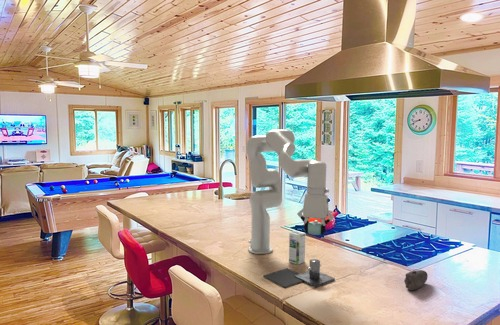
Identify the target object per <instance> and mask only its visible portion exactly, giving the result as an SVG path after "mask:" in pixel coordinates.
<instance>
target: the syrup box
mask: <svg viewBox="0 0 500 325" xmlns="http://www.w3.org/2000/svg"><path fill="white" fill-rule="evenodd" d="M288 235H289V236H288V237H289V238H288V239H289V240H288V262H289V263H290V264H291V263H292V264H293V265H294V264H295V265H298V266H299V265H300V264H303V263H305V262H306V233H305V232H302V231H298V230H292V231H291V232H289V234H288Z"/></svg>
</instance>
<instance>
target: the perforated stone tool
mask: <svg viewBox="0 0 500 325" xmlns="http://www.w3.org/2000/svg"><path fill="white" fill-rule="evenodd" d="M427 280H428V272H427V271H425V270H423V269H419V270H418V269H417V270H413V271H409V272H407V273H405V278H404V281H403V282H404V285H405V288H406V289H407V290H409V291H416V290H419V289H420V288H421V287H423V286H424V285H425V283H426V282H427Z"/></svg>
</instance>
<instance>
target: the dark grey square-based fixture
mask: <svg viewBox="0 0 500 325" xmlns="http://www.w3.org/2000/svg"><path fill="white" fill-rule="evenodd" d="M321 267H322V263H321V260H319V259H315V258H312V259H310V260H309V265H308V267H307V271H304V272H301V273H299V274H298V275H295V276H294V277H296V278H298V279H300V280H303V282H302V283H304V284H306V285H308V286H310V287H311V288H318V287H321V286H323V285H327V284H328V283H329V284H330V283H331V282H334V281H336V279H335V277H333V276H331V275H328V274H326V273H325V272H324V273H323V272H321Z"/></svg>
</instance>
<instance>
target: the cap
mask: <svg viewBox="0 0 500 325" xmlns="http://www.w3.org/2000/svg"><path fill="white" fill-rule="evenodd" d="M318 220H319V219H318ZM318 220H317V219H315V220H314V221H308V232H307V233H308V234H310V235H313V236H320V235H321V226H322V222H321V221H318Z"/></svg>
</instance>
